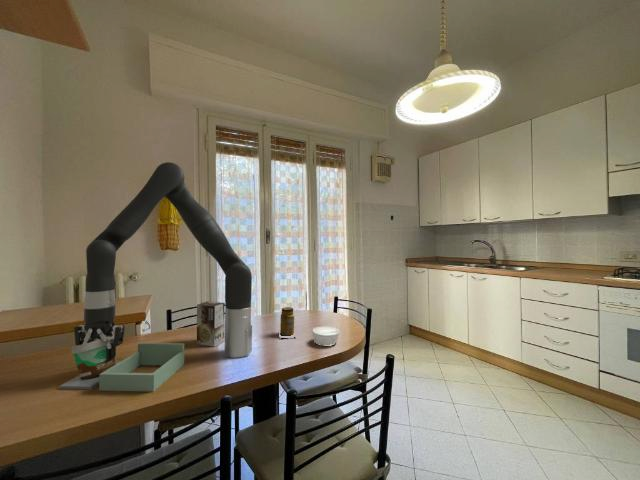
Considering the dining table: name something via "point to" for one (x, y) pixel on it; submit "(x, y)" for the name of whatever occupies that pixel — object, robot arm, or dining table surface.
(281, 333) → the condiment
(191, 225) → the robot arm
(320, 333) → the ramekin
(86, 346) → the food container
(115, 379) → the pale green open box
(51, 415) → the dining table surface
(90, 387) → the slate tile
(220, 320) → the coffee box
